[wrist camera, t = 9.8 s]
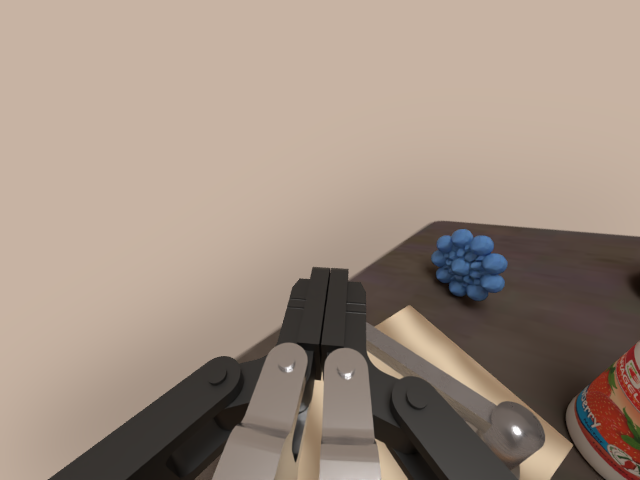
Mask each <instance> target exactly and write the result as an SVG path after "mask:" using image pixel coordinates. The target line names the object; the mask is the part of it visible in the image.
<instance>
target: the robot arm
mask: <svg viewBox="0 0 640 480" xmlns="http://www.w3.org/2000/svg"><path fill="white" fill-rule="evenodd" d="M322 372H323V381H324V391H323V419H322V439H321V450H320V475H319V480H381V470H380V460H379V452H378V446H377V443H376V441H375V439H377V440H379V441H381V442H383V443H384V444H385V445H386V447H387V449H388V450H389V452H390V453H391V455H392V456H393V458H394V459H395V461H396V462H397V464H398V465H399V467H400V468H401V470H402V471H403V473H404V474H405V476H406V477H407V478H408V480H518V478H517V477H516V476H515V475H514V474H513V473H512V472H511V471H510V470H509V469H508V468H507V466H506V465H505V464H504V463H503V462H502V461H501V460H500V459H499V458H498V457H497V456H496V455H495V453H494V452H493V451H492V450H491V449H490V448H489V447H488V446H487V445H486V444H485V443H484V442H483V440H482V439H481V438H480V437H479V436H478V435H477V434H476V433H475V432H474V431H473V430H472V428H471V427H470V426H469V425H468V424H467V423H466V422H465V421H464V420H463V419H462V418H461V417H460V415H459V414H458V413H457V412H456V411H455V410H454V409H453V408H452V407H451V406H450V405H449V403H448V402H447V401H446V400H445V399H444V398H443V397H442V396H441V395H440V394H439V393H438V392H437V390H436V389H435V388H434V387H433V386H432V385H431V384H430V383H428V382H427V381H425V380H424V379H422V378H419V377H415V376H406V377H403V378H401V379H398V378H395V377H393V376H391V375H389V374H386V373H384V372H382V371H381V370H379V369H378V368H377V367H375V366H374V365H373V363H372V362H371V361H370V359H369V357H368V354H367V349H366V292H365V290H364V288H363V286H362V284H361V282H348V269H338V268H331V273H330V268H320V267H313V268H312V273H311V277H310V279H299V280H298V281H297V283H296V284H295V285H294V286H293V287H292V291H291V295H290V300H289V302H288V306H287V310H286V313H285V317H284V320H283V324H282V328H281V331H280V335H279V339H278V342H277V344H276V346H275V347H274V348H273V349H272V350H271V351H270V352H269V354H267V355H266V356H264V357H262V358H260V359H257V360H253V361H249V362H244V363H240V364H238V362H237V361H236V360H235V359H233V358H231V357H227V356H221V357H217V358H214V359H212V360H210V361H209V362H207V363H206V364H205V365H203V366H202V367H200V369H198V370H196V371H195V372H194V373H192V374H191V375H190V376H188V377H187V378H186V379H184V380H183V381H182V382H180V383H179V384H177V385H176V386H175V387H173V388H172V389H171V390H169V391H168V392H167V393H165V394H164V395H163V396H161V397H160V398H159V399H157V400H156V401H154V402H153V403H152V404H150V405H149V406H147V407H146V408H145V409H143V410H142V411H141V412H139V413H138V414H137V415H135V416H134V417H132V418H131V419H130V420H128V421H127V422H126V423H124V424H123V425H122V426H120V427H119V428H118V429H116V430H115V431H113V432H112V433H111V434H109V435H108V436H107V437H105V438H104V439H103V440H101V441H100V442H98V443H97V444H96V445H94V446H93V447H92V448H90V449H89V450H88V451H86V452H85V453H84V454H82V455H81V456H79V457H78V458H77V459H76V460H74V461H73V462H71V463H70V464H69V465H67V466H66V467H64V468H63V469H62V470H60V471H59V472H58V473H56V474H55V475H54V476H52V477H51V478H50V479H48V480H194V479H195V478H196V477H197V476H198V475H199V474H200V473H201V472H202V471H203V470H204V469H205V468H207V467H208V466H209V465H210V464H211V463H212V462H213V461H214V460H215V459H216V458H217V457H218V456H219V455H220V454H221V453H222V452H223V453H222V455H221V458H220V461H219V463H218V466H217V468H216V471H215V473H214V476H213V478H212V480H297V478H298V467H299V460H300V455H301V451H302V446H303V441H304V436H305V431H306V427H307V422H308V417H309V412H310V407H311V402H312V396H313V389H314V382H315V380H320V381H321V377H322Z"/></svg>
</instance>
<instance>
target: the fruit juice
mask: <svg viewBox="0 0 640 480" xmlns="http://www.w3.org/2000/svg"><path fill="white" fill-rule="evenodd" d="M566 424H567V428H568V431H569V434H570V436H571V439H572V440H573V442H574V444H575V446H576V447H577V449H578V450H579V452H580V453H581V455H582V456H583V457H584V458H585V460H586V461H587V462H588V463H589V464H590V465H591V466H592V467H593V468H594V469H595V470H596V471H597V472H598V473H599V474H600V475H601V476H602V477H603V478H604V479H606V480H640V341H639V342H637V343H636V344H635V345H634V346H633V347H632V348H631V349H630V350H629V351H627V352H626V353H625V354H624V355H623V356H622V357H620V358H619V359H618V360H617V361H616V362H615V363H614V364H612V365H611V366H610V367H609V368H608V369H607V370H605V371H604V372H603V373H602V374H601V375H600V376H598V377H597V378H596V379H595V380H594V381H593V382H592V383H590V384H589V385H588V386H587V387H586V388H585V389H583V390H582V391H581V392H580V393H579V394H578V395H577V396H575V397H574V398H573V399H572V401H571V402H570V404H569V405H568V408H567V411H566Z"/></svg>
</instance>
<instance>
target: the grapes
mask: <svg viewBox="0 0 640 480" xmlns="http://www.w3.org/2000/svg"><path fill="white" fill-rule="evenodd" d="M437 248H438V250H437V251H435V252H434V253H433V254H432V257H431V260H432V263H433V264H434V265H436V266H438V267H440V268H438V270H437V271H436V277H437V279H438V280H439V281H440V282H442V283H449V290H450V292H451V293H452V294H453V295H456V296H461V297H462V296H464V295H466V294H467V296H468V297H469V298H471V299H473V300H475V301H482V300H485V299H486V298H487V296H488V292H490V293H497V292H499V291H501V290H502V289H503V287H504V283H505V281H504V279H503V278H502V277H501V276H500V275H498V274H500V273H502V272H504V271H505V269H506V268H507V261H506V259H505V258H504V257H503V256H502V255H499V254H495V253H491V252H492V250H493V248H494V243H493V241H492V240H491V239H490V238H489V237H487V236H476V237H474V238H473V235H472V233H471V232H470V231H468V230H466V229H459V230H457V231H455V232H454V233H453V234H452V237H451V236H442V237H440V238H439V239H438V241H437Z"/></svg>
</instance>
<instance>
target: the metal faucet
mask: <svg viewBox="0 0 640 480" xmlns="http://www.w3.org/2000/svg"><path fill="white" fill-rule="evenodd" d="M366 349H367V351H368V352H369V353H371V354H372V355H374V356H375V357H376V358H378V359H379V360H381V361H382V362H384V363H385V364H386V365H388V366H389V367H391V368H392V369H393V370H395V371H396V372H398V373H399V374H401V375H402V376H403V377H406V376H415V377H419V378H422V379H424V380H425V381H427V382H428V383H430V384H431V385H432V386H433V387H434V388H435V389H436V390H437V392H438V393H439V394H440V395H441V396H442V397H443V398H444V399H445V400H446V401H447V402H448V403H449V405H450V406H451V407H452V408H453V409H454V410H455V411H456V412H457V413H458V414H459V415H460V417H461V418H462V419H463V420H464V421H465V422H466V423H467V424H468V425H469V426H470V427H471V428H472V430H473V431H474V432H475V433H476V434H477V435H478V436H479V437H480V438H481V439H482V440H483V442H484V443H485V444H486V445H487V446H488V447H489V448H490V449H491V450H492V451H493V452H494V453H495V455H496V456H497V457H498V458H499V459H500V460H501V461H502V462H503V463H504V464H505V465H506V466H507V468H508V469H509V470H510V471H511V472H512V473H513V474H514V475H515V476H516V477H517V478H518V480H519V479H520V465H519V464H521V463H522V462H523V461H525V460H526V459H527V458H529V457H530V456H531V455H533V454H534V453H535V452H536V451H538V450H539V449H540V448H542V447H543V445H544V443H545V432H544V429H543V427H542V425H541V423H540V421H539V420H538V419H537V417H536V416H535V415H534V414H533V413H532V412H531V411H530V410H528V409H527V408H526V407H524V406H522V405H520V404H518V403H515V402H511V401H505V402H501V403H499V404H498V405H495V404H494V403H492V402H491V401H489V400H488V399H486V398H484V397H483V396H481V395H480V394H478V393H477V392H475V391H473V390H472V389H470V388H469V387H467V386H466V385H464V384H463V383H461V382H459V381H458V380H456V379H455V378H453V377H452V376H450V375H448V374H447V373H445V372H444V371H442V370H441V369H439V368H437V367H436V366H434V365H433V364H431V363H430V362H428V361H426V360H425V359H423V358H422V357H420V356H419V355H417V354H416V353H414V352H412V351H411V350H409V349H408V348H406V347H405V346H403V345H401V344H400V343H398V342H397V341H395V340H394V339H392V338H390V337H389V336H387V335H386V334H384V333H383V332H381V331H380V330H378V329H376V328H375V327H373V326H372V325H370V324H369V323H367V322H366Z"/></svg>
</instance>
